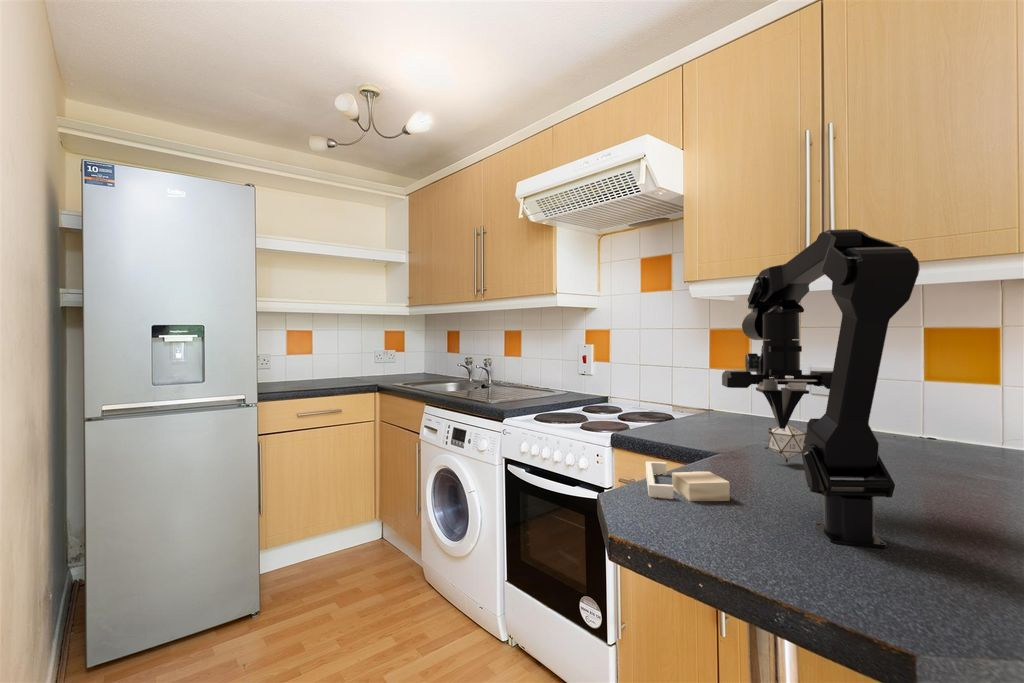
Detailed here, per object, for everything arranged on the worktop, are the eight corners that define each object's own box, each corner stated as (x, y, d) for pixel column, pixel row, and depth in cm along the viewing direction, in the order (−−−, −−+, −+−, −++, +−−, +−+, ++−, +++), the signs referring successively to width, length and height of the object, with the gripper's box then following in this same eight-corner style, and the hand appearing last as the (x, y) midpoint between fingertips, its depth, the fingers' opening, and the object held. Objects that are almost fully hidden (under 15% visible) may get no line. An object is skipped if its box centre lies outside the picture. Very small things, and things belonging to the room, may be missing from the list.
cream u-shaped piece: (673, 504, 82) (673, 486, 82) (648, 502, 83) (648, 485, 83) (666, 477, 99) (666, 462, 99) (645, 476, 99) (645, 461, 99)
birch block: (729, 506, 82) (729, 482, 82) (689, 507, 81) (689, 483, 81) (709, 493, 89) (709, 471, 89) (672, 494, 88) (671, 472, 88)
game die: (764, 465, 107) (763, 419, 107) (764, 457, 115) (764, 414, 115) (811, 469, 103) (811, 422, 103) (808, 461, 111) (808, 417, 111)
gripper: (822, 339, 92) (823, 422, 92) (716, 340, 96) (717, 419, 96) (848, 339, 81) (849, 433, 81) (727, 340, 85) (728, 429, 85)
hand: (781, 428), depth 86 cm, fingers closed
